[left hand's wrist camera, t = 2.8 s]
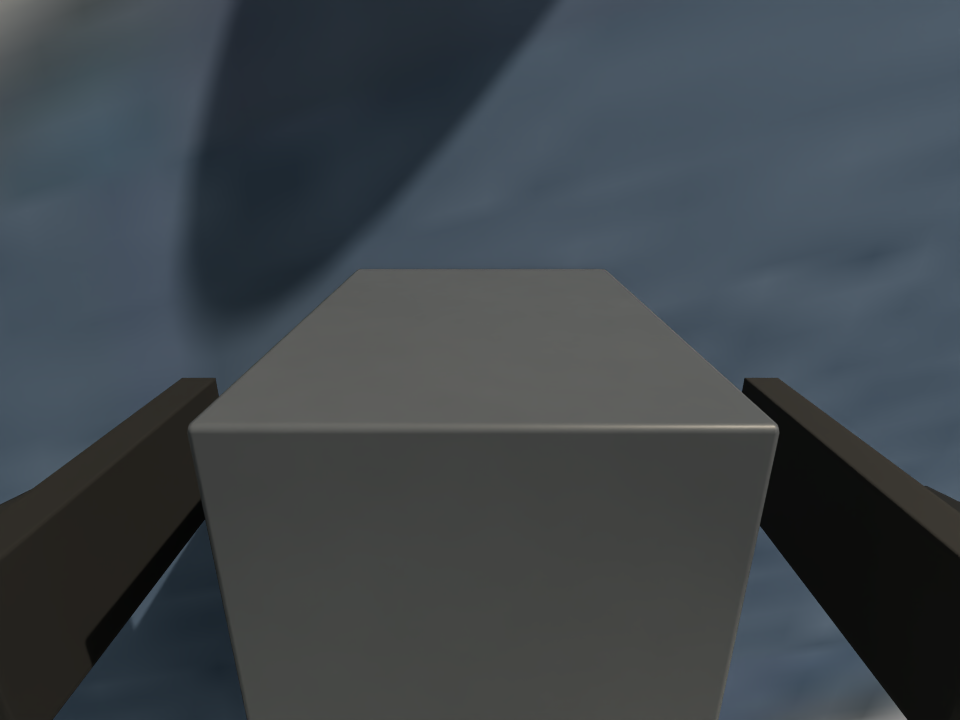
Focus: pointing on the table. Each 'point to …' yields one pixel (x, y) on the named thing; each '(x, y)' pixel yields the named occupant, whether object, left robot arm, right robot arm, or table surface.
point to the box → (482, 505)
